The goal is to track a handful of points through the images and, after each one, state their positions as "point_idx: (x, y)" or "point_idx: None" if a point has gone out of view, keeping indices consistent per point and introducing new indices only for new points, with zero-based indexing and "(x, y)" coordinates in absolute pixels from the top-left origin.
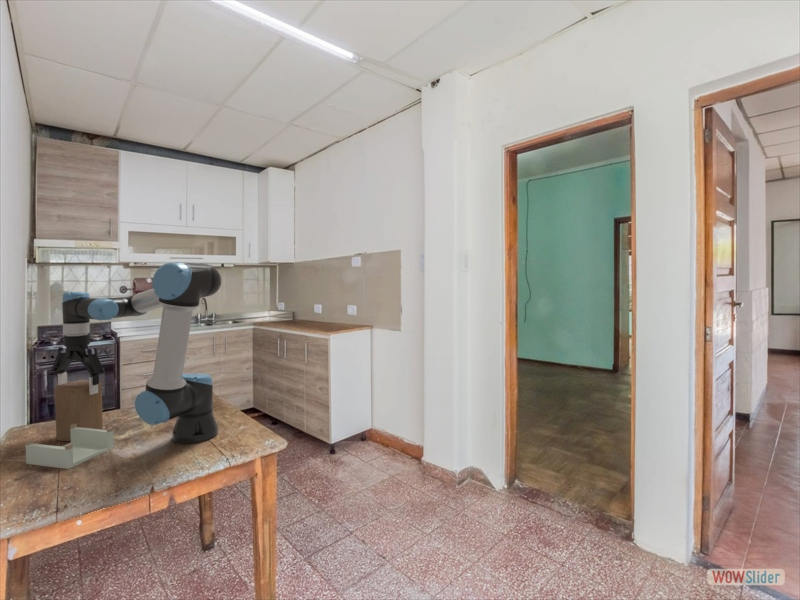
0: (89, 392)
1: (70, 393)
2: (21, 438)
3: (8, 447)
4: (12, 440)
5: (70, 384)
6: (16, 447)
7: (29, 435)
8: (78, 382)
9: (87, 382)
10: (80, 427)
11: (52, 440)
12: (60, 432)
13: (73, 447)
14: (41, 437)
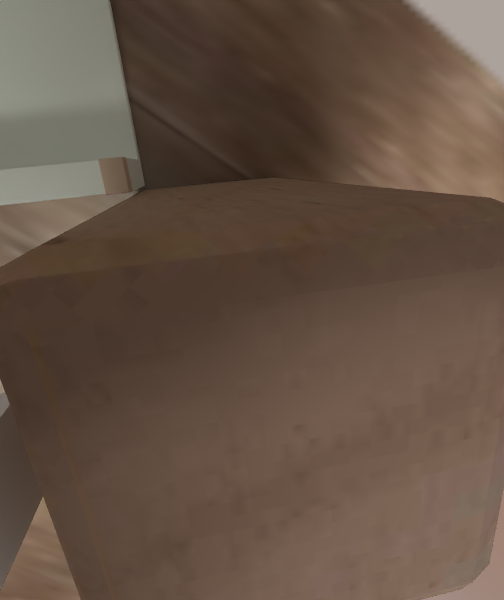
0: (7, 409)
1: (138, 227)
2: (476, 142)
3: (429, 30)
4: (494, 109)
5: (358, 387)
6: (389, 43)
7: (474, 183)
8: (350, 507)
9: (204, 569)
10: (78, 196)
11: (305, 176)
12: (256, 180)
13: (37, 109)
14: (395, 185)
